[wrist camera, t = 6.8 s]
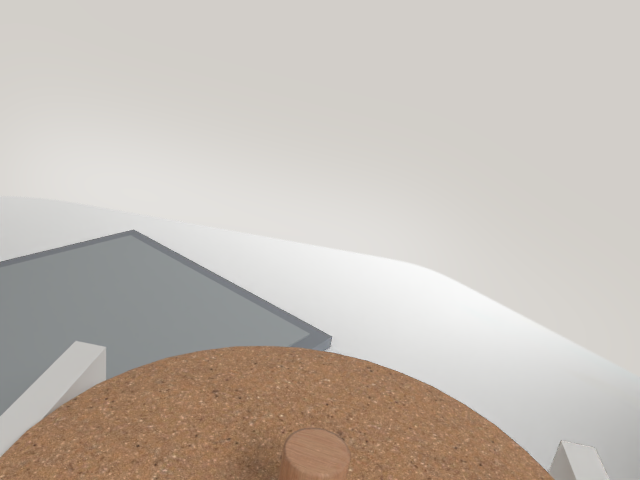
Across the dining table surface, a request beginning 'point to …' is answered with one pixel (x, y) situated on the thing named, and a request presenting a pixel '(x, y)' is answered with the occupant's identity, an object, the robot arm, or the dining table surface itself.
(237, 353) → the lidded jar
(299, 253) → the dining table surface
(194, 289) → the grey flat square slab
